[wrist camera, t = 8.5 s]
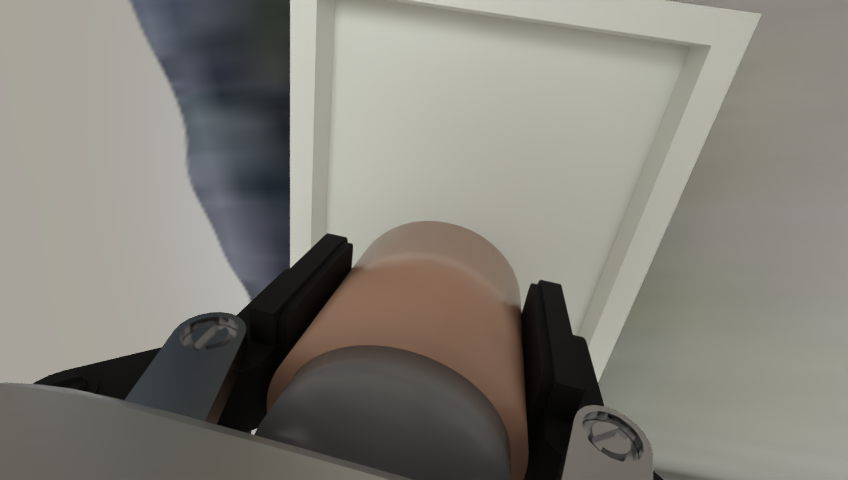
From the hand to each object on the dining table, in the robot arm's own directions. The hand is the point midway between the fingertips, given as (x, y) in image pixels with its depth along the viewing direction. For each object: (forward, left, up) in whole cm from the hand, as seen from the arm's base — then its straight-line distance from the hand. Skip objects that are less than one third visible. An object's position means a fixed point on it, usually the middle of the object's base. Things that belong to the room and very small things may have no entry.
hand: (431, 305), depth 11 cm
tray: (0, 0, -12) cm, 12 cm away
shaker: (0, 0, -1) cm, 1 cm away
